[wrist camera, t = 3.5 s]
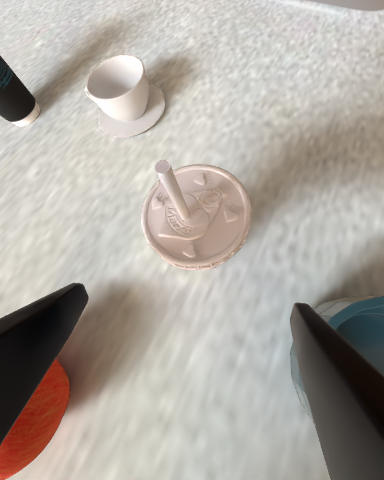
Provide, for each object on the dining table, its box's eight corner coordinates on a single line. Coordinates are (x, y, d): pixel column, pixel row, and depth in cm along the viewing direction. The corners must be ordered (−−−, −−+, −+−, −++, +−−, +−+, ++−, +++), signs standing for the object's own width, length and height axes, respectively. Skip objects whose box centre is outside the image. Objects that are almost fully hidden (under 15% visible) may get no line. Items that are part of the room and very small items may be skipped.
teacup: (172, 84, 28) (162, 43, 23) (157, 141, 25) (143, 107, 21) (110, 87, 30) (90, 50, 25) (90, 140, 27) (64, 109, 23)
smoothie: (166, 244, 21) (67, 151, 8) (214, 211, 21) (199, 64, 8) (199, 295, 19) (142, 288, 6) (253, 258, 19) (318, 166, 6)
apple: (63, 325, 20) (-33, 340, 13) (102, 398, 18) (11, 473, 10) (0, 380, 20) (-140, 431, 12) (32, 464, 17) (-122, 597, 9)
